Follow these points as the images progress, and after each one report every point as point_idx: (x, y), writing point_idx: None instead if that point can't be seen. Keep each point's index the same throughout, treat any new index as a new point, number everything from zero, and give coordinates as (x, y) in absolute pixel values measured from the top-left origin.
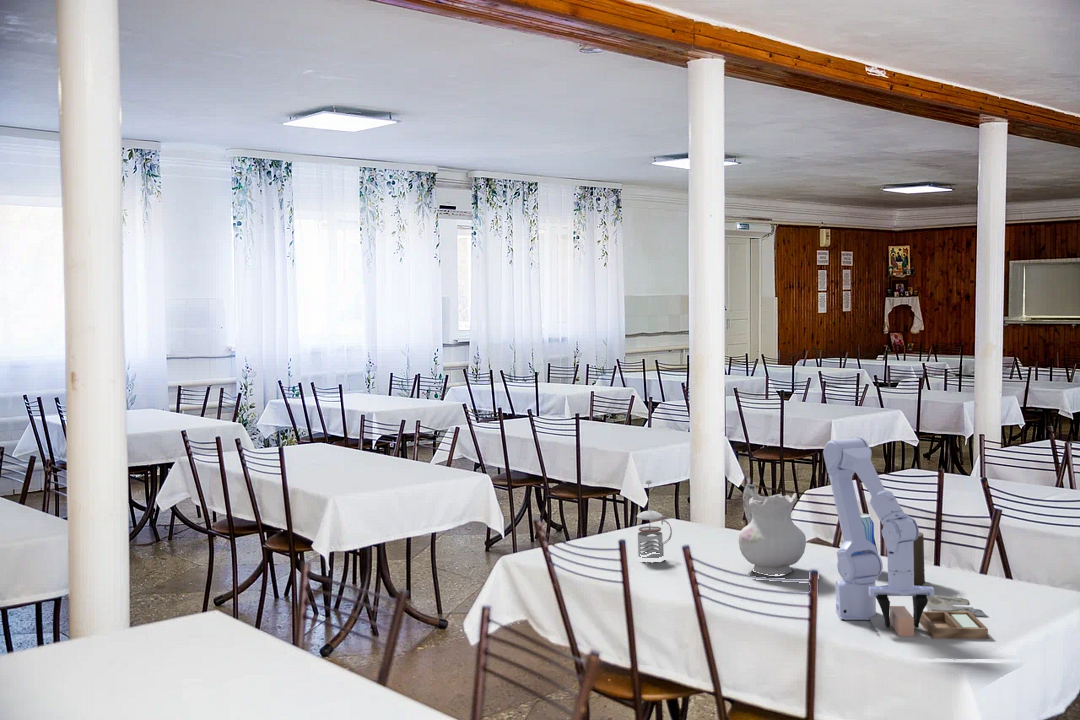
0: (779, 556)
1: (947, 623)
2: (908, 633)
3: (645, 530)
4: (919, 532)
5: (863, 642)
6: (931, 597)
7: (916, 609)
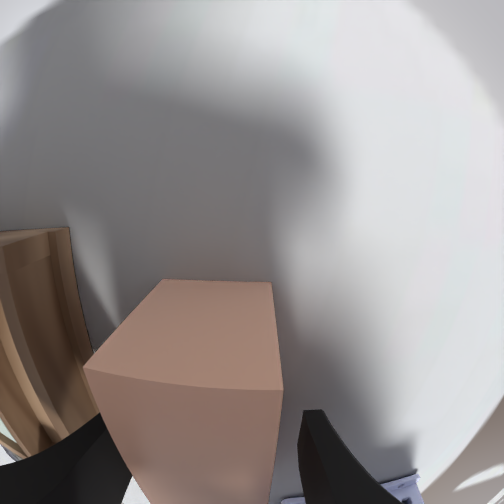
0: None
1: (27, 412)
2: (191, 296)
3: None
4: None
5: (487, 211)
6: None
7: (74, 486)
